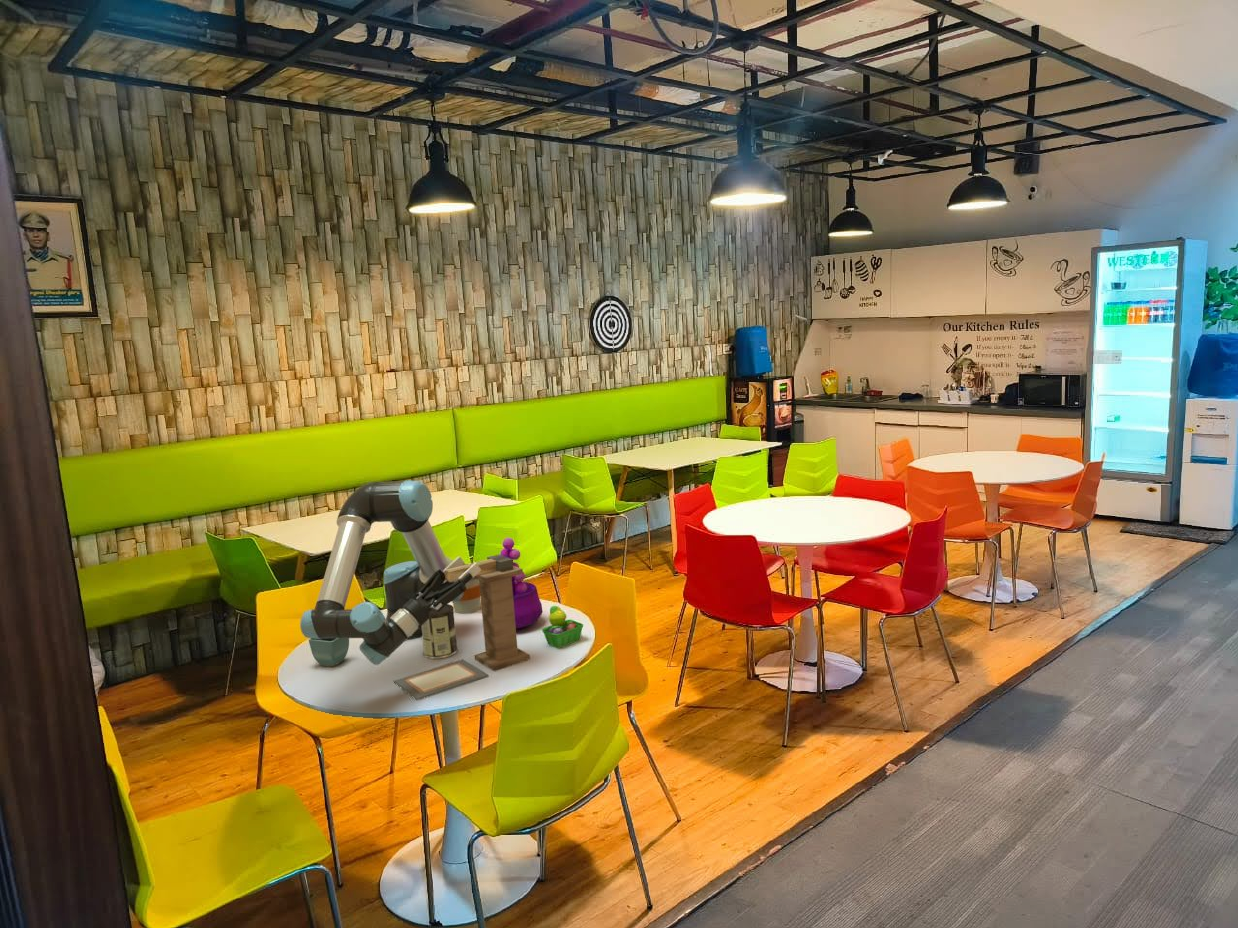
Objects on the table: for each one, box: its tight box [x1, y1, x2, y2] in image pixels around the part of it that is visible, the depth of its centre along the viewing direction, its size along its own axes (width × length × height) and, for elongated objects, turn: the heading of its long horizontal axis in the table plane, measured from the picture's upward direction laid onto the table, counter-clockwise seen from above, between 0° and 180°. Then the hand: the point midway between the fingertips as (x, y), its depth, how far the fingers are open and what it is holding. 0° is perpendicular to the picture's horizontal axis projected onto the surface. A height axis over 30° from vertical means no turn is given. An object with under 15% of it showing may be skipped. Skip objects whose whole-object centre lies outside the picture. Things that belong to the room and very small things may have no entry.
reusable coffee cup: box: [452, 563, 481, 615], centre depth 300 cm, size 13×13×15 cm
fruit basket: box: [541, 605, 584, 649], centre depth 264 cm, size 11×9×11 cm
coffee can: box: [421, 603, 458, 660], centre depth 261 cm, size 10×10×14 cm
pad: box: [392, 658, 490, 701], centre depth 241 cm, size 16×22×1 cm
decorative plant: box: [499, 537, 543, 629], centre depth 279 cm, size 19×18×30 cm
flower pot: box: [308, 638, 350, 667], centre depth 258 cm, size 9×9×9 cm
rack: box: [473, 566, 531, 672], centre depth 251 cm, size 12×12×28 cm
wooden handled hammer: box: [445, 553, 514, 582], centre depth 245 cm, size 8×19×3 cm, turn 127°
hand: (469, 562), depth 243 cm, fingers open, 9 cm apart
